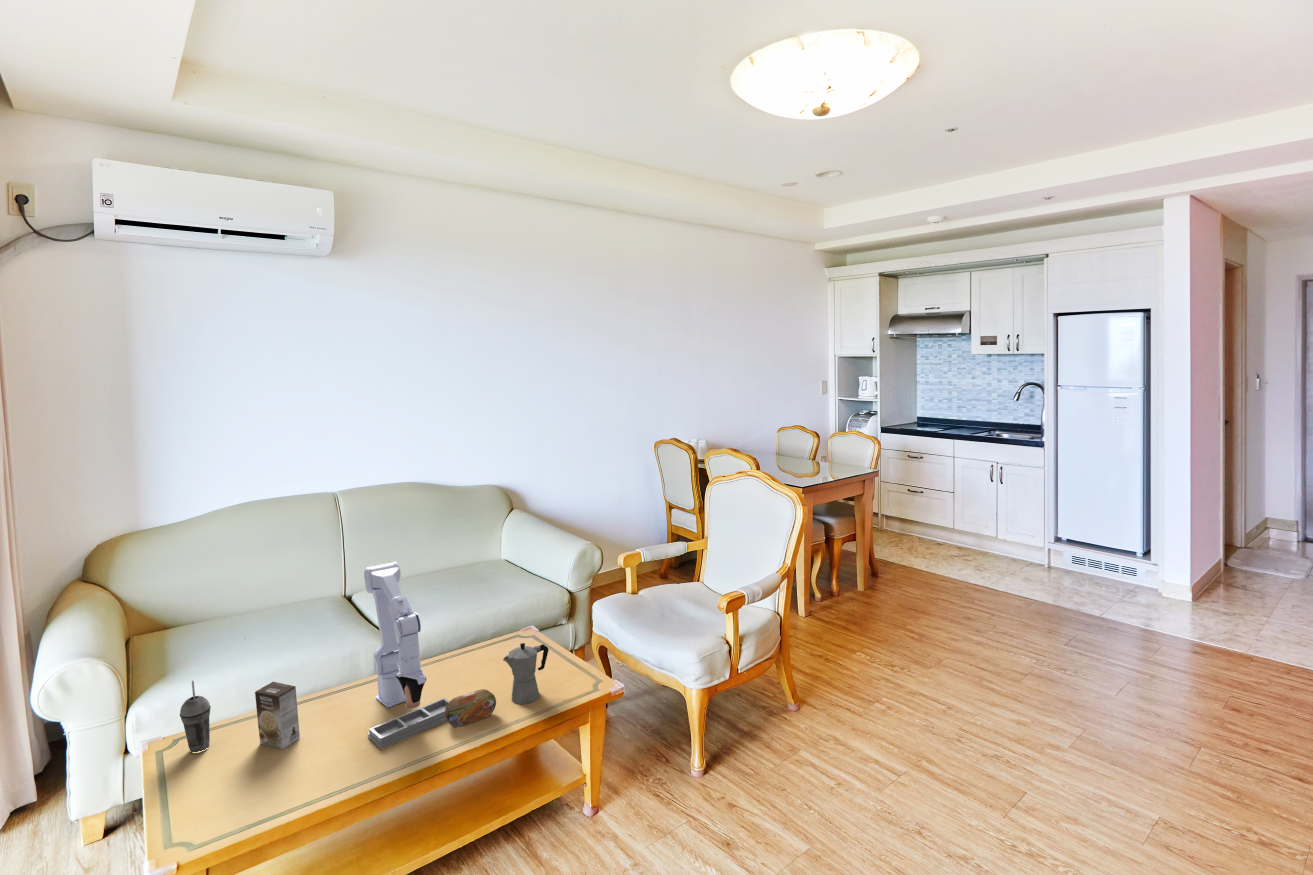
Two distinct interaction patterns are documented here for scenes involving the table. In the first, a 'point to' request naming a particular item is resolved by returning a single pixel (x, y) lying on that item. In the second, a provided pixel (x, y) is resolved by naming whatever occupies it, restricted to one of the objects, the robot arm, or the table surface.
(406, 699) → the tan rounded cylinder
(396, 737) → the grey compartment tray
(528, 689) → the coffeepot
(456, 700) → the tin
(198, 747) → the beverage cup
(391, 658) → the robot arm
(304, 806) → the table surface
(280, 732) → the coffee box
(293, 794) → the table surface
